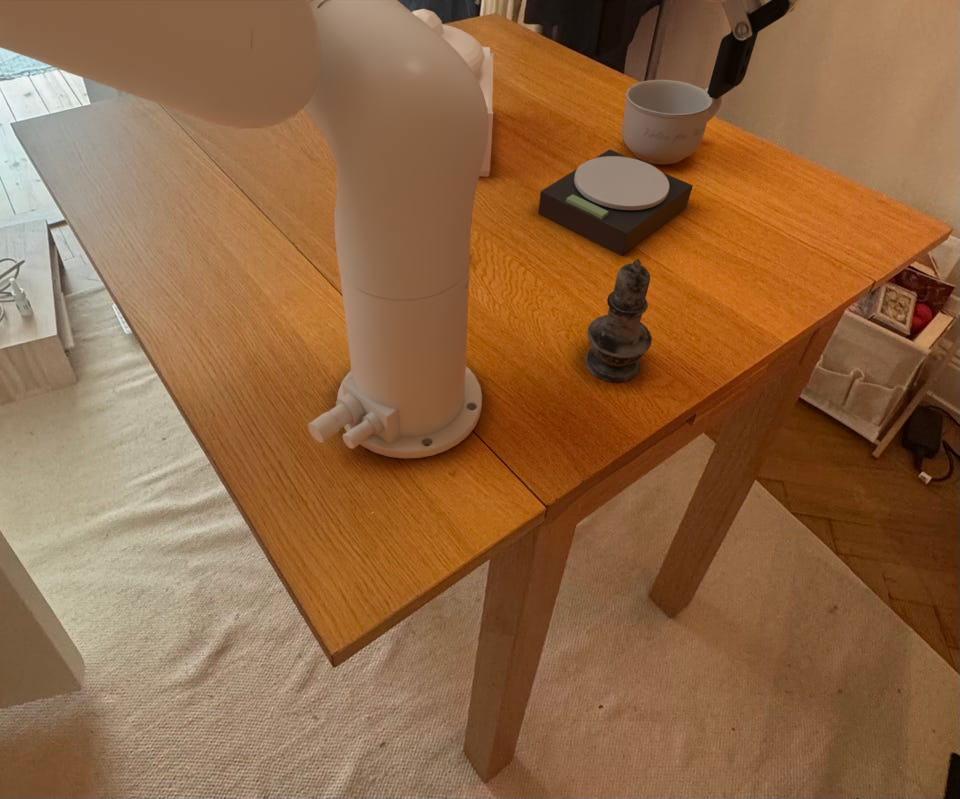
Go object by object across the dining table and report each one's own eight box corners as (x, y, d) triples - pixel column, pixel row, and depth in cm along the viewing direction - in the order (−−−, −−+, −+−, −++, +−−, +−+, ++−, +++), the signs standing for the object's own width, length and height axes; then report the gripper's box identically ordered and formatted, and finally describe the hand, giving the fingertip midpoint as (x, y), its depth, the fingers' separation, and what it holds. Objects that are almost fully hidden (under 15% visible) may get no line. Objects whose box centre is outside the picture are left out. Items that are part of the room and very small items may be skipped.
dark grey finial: (642, 345, 71) (670, 241, 62) (645, 388, 67) (676, 284, 58) (582, 339, 71) (602, 235, 63) (581, 381, 67) (603, 277, 59)
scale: (622, 256, 81) (628, 227, 78) (537, 213, 86) (541, 184, 84) (686, 207, 89) (694, 179, 86) (605, 170, 94) (610, 142, 91)
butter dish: (489, 176, 92) (497, 45, 80) (345, 169, 91) (332, 36, 80) (491, 112, 104) (497, -11, 92) (363, 105, 103) (354, -19, 92)
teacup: (635, 178, 93) (648, 117, 87) (603, 137, 100) (613, 78, 94) (733, 167, 96) (752, 107, 90) (695, 128, 103) (710, 70, 97)
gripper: (562, -260, 42) (533, 50, 54) (858, -217, 34) (747, 129, 47) (632, -266, 46) (591, 23, 58) (911, -229, 39) (795, 92, 51)
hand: (660, 70), depth 53 cm, fingers open, 9 cm apart
